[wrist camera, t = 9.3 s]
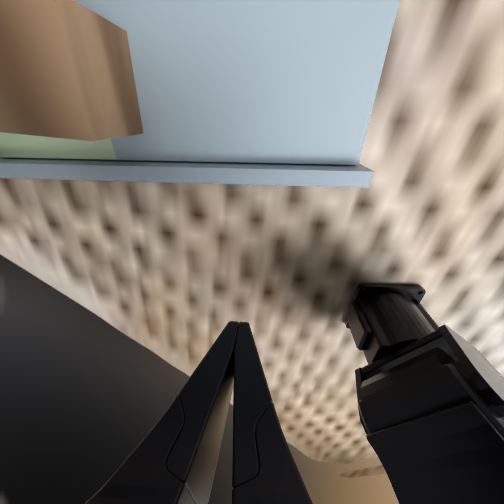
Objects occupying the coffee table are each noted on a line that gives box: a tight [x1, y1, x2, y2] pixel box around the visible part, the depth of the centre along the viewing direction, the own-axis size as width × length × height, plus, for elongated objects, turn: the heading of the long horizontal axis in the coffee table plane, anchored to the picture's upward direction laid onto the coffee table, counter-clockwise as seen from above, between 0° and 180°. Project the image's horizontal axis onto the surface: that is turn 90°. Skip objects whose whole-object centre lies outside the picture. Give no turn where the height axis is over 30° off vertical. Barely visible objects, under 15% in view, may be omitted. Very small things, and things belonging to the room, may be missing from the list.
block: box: [0, 0, 144, 141], centre depth 11 cm, size 5×5×5 cm
